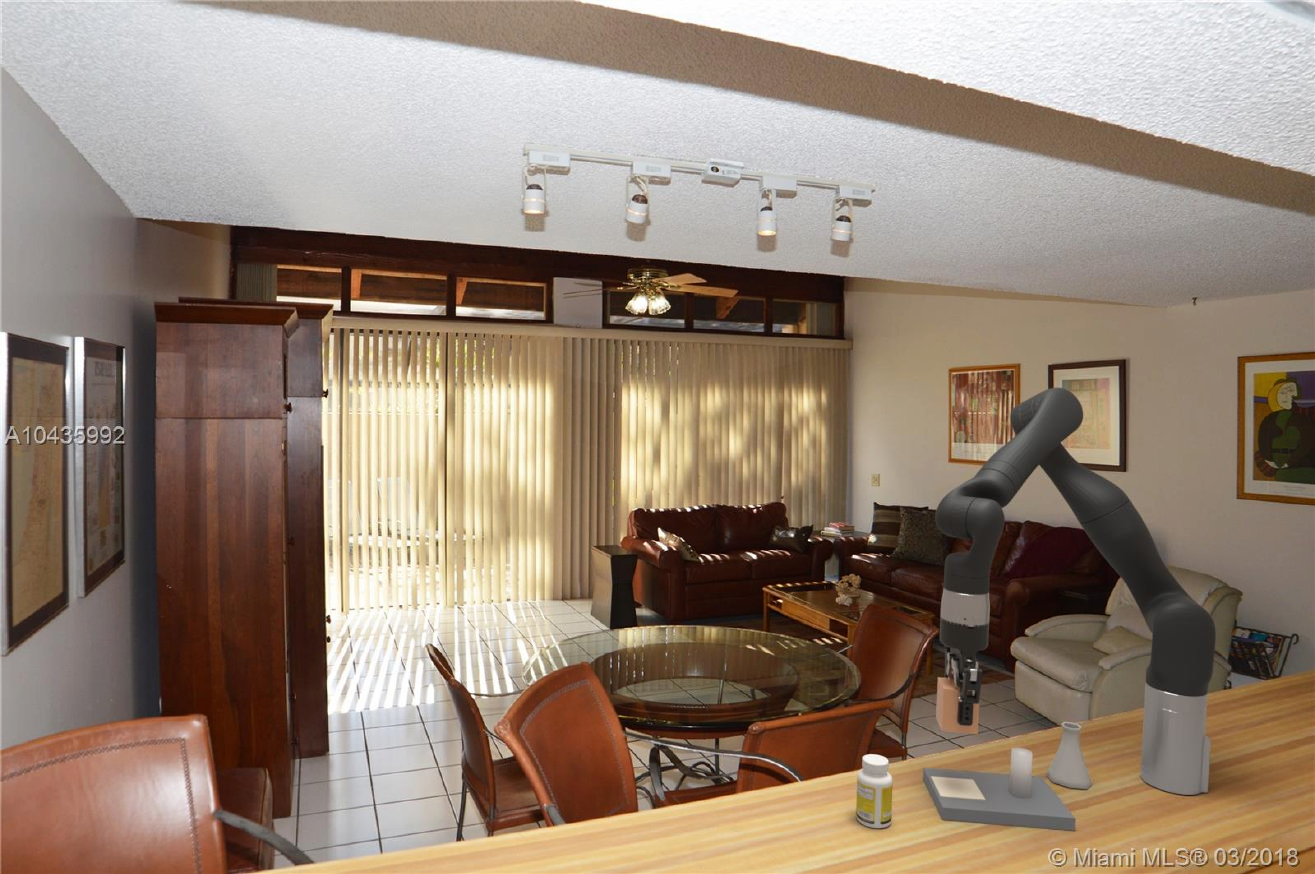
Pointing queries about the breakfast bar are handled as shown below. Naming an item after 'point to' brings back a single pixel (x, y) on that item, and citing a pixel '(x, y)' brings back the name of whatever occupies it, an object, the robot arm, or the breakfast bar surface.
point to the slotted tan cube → (952, 708)
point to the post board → (999, 796)
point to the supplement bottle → (874, 792)
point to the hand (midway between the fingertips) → (959, 716)
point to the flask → (1069, 760)
